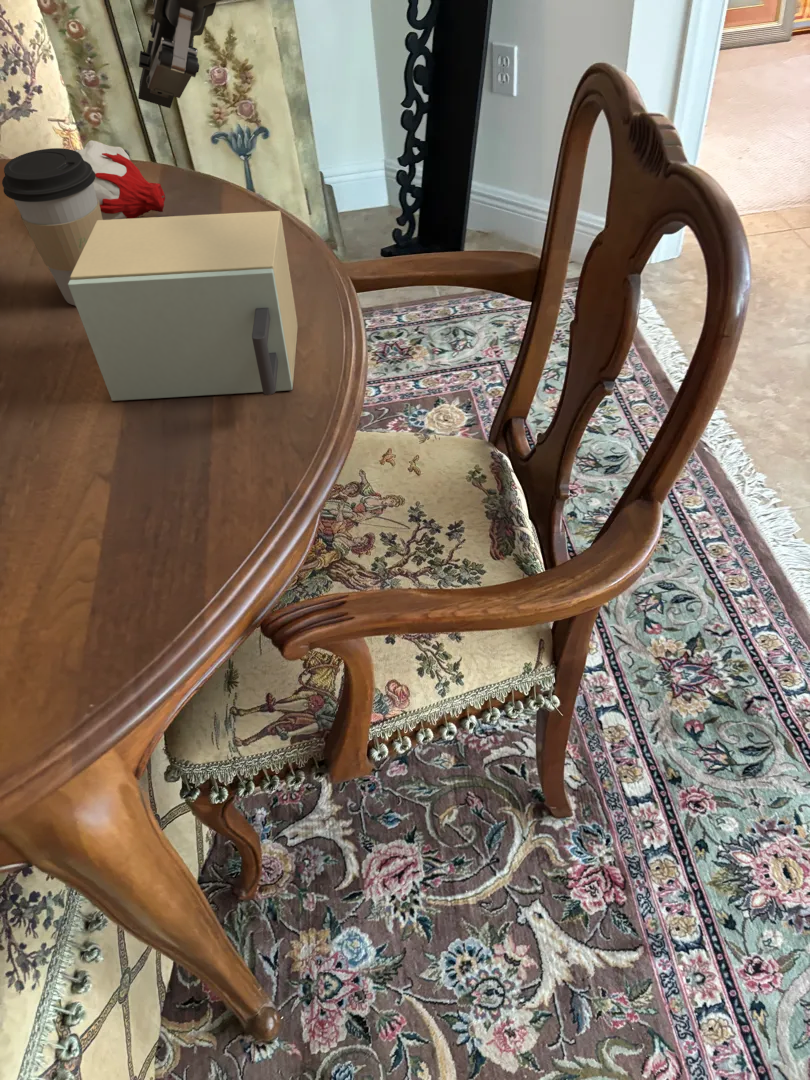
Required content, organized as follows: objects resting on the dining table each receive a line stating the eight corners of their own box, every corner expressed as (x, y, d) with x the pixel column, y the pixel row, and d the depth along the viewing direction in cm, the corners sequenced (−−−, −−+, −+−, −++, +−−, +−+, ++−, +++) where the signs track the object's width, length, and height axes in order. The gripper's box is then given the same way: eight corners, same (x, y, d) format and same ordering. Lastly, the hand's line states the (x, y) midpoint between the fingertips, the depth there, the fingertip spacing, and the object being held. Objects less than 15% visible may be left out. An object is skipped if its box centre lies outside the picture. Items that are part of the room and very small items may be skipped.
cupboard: (293, 386, 79) (273, 265, 69) (114, 396, 79) (69, 276, 69) (297, 326, 86) (280, 210, 77) (134, 335, 86) (96, 219, 77)
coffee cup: (127, 309, 90) (84, 176, 79) (43, 319, 89) (-13, 186, 78) (133, 269, 96) (93, 141, 85) (54, 278, 95) (4, 149, 84)
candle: (84, 195, 110) (187, 213, 109) (46, 232, 102) (156, 252, 102) (70, 127, 103) (180, 146, 102) (27, 161, 96) (146, 182, 95)
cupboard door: (290, 422, 75) (269, 303, 65) (101, 434, 74) (52, 315, 65) (292, 385, 79) (273, 268, 69) (113, 396, 78) (69, 279, 69)
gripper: (258, 30, 49) (192, 180, 70) (276, -176, 49) (205, 36, 70) (131, -16, 45) (102, 156, 67) (151, -236, 46) (116, 5, 67)
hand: (155, 95), depth 68 cm, fingers closed
